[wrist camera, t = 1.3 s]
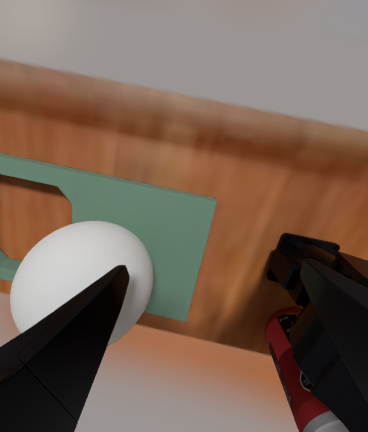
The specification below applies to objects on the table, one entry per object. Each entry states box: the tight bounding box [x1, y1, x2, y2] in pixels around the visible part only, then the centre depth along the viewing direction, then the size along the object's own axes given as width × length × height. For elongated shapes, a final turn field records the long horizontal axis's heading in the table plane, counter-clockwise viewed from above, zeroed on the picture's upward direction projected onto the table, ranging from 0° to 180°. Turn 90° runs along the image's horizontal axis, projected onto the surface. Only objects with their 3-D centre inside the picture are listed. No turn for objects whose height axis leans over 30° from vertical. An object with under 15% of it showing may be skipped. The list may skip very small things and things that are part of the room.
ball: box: [10, 221, 154, 346], centre depth 16 cm, size 11×11×11 cm
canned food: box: [265, 308, 349, 432], centre depth 20 cm, size 8×8×11 cm
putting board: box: [0, 153, 217, 322], centre depth 23 cm, size 31×17×2 cm, turn 79°
